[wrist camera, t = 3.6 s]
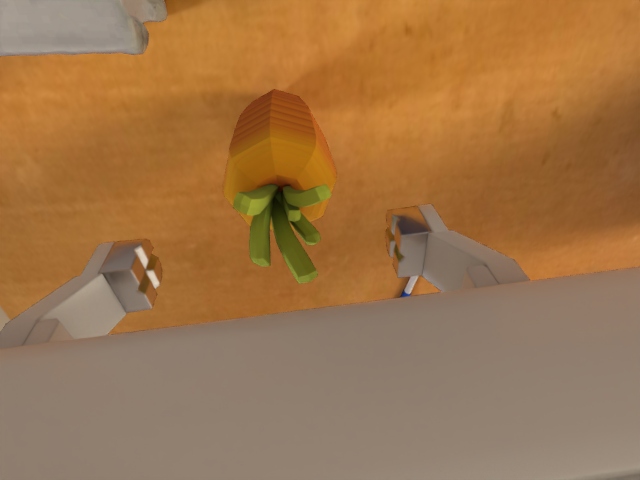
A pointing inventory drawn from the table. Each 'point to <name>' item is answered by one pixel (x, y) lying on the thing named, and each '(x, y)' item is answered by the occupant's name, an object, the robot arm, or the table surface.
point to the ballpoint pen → (409, 286)
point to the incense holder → (76, 26)
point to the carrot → (280, 178)
